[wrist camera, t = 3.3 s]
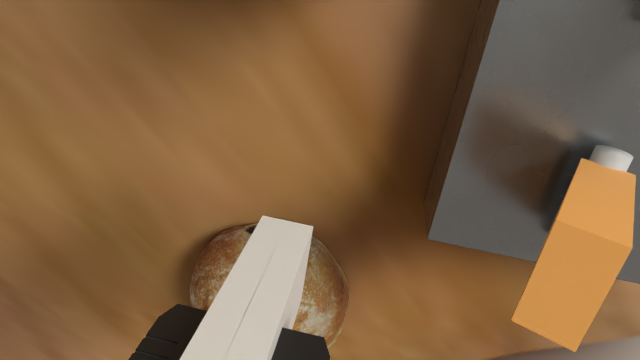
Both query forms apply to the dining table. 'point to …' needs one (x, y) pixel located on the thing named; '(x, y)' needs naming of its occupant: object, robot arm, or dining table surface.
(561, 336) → the orange and white block
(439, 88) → the dining table surface
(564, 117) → the panel
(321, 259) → the bread roll
